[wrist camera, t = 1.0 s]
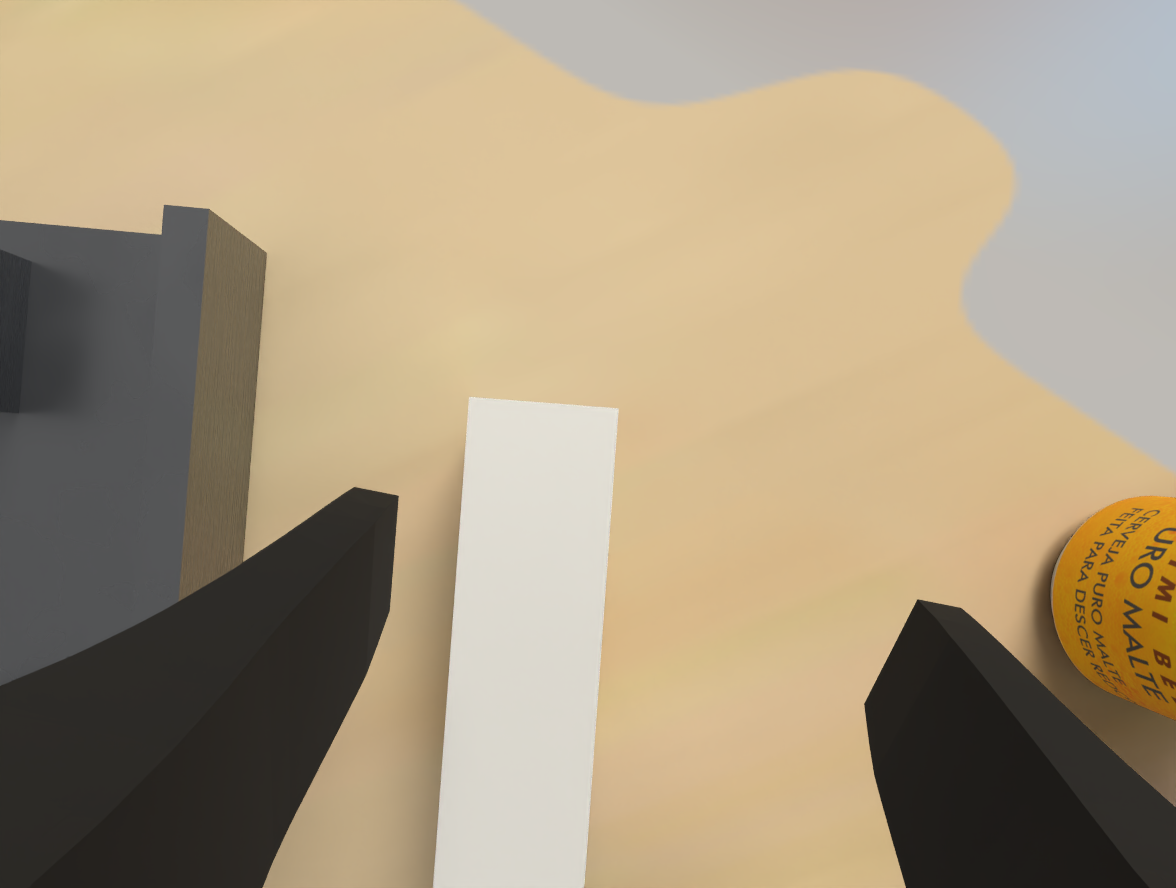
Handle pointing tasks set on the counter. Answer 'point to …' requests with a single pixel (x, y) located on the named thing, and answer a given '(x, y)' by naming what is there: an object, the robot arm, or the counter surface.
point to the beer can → (1122, 601)
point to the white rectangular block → (525, 645)
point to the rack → (120, 424)
